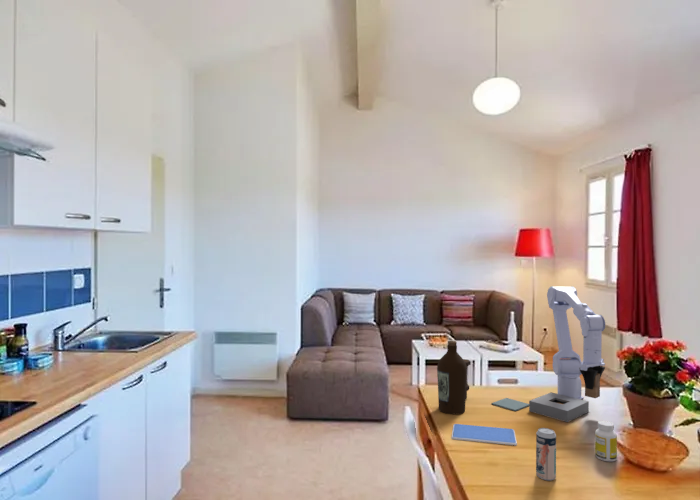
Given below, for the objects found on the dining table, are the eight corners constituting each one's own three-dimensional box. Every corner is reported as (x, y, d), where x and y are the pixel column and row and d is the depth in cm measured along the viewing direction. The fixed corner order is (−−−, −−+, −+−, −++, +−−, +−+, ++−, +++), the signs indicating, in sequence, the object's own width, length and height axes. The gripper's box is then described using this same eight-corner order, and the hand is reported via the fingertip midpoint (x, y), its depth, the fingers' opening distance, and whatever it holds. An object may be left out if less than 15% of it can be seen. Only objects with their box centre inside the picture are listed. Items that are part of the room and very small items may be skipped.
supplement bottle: (614, 455, 136) (615, 421, 136) (618, 463, 131) (618, 427, 131) (593, 452, 138) (593, 418, 138) (596, 460, 133) (596, 425, 133)
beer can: (532, 473, 125) (532, 427, 125) (550, 472, 126) (550, 427, 125) (541, 482, 120) (541, 434, 120) (559, 481, 121) (559, 434, 121)
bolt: (469, 397, 189) (469, 359, 189) (471, 401, 184) (471, 362, 184) (454, 396, 190) (454, 358, 189) (455, 400, 184) (456, 361, 184)
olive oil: (455, 403, 181) (455, 337, 180) (472, 412, 171) (473, 343, 171) (431, 407, 176) (431, 339, 176) (447, 416, 167) (448, 345, 167)
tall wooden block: (589, 393, 171) (589, 371, 171) (599, 396, 168) (599, 373, 168) (584, 395, 169) (585, 373, 169) (595, 398, 166) (595, 375, 166)
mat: (506, 399, 187) (506, 397, 187) (530, 405, 179) (530, 404, 179) (491, 404, 180) (491, 403, 180) (515, 411, 173) (515, 410, 173)
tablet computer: (451, 441, 147) (451, 436, 147) (453, 426, 159) (453, 422, 159) (517, 448, 142) (517, 443, 142) (514, 432, 154) (514, 428, 154)
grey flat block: (551, 402, 183) (551, 392, 183) (588, 411, 172) (588, 401, 172) (529, 411, 173) (529, 400, 173) (567, 422, 162) (567, 410, 162)
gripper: (595, 354, 161) (595, 394, 161) (612, 348, 170) (612, 386, 170) (574, 350, 166) (573, 389, 166) (592, 345, 176) (591, 381, 176)
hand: (592, 387), depth 169 cm, fingers closed on tall wooden block, 4 cm apart
